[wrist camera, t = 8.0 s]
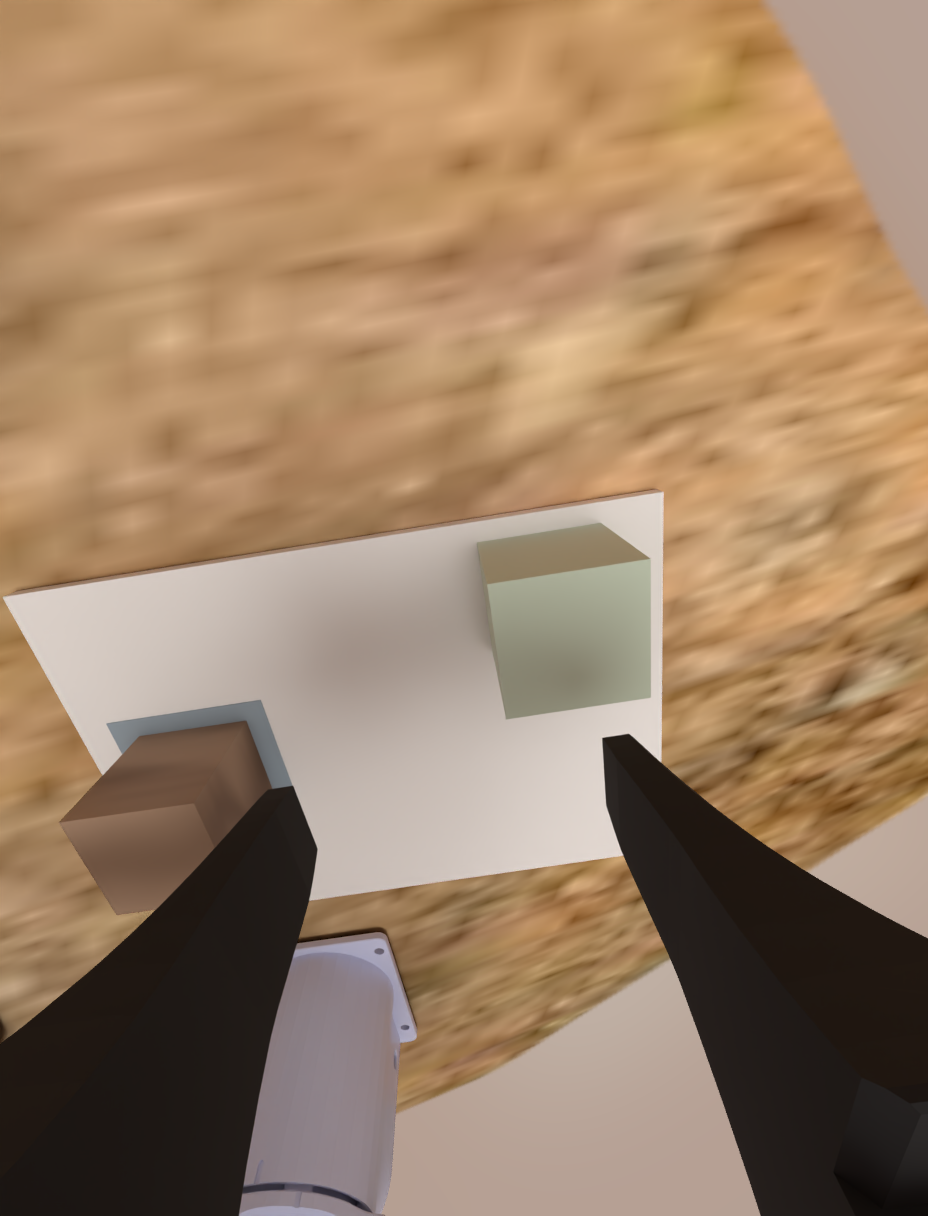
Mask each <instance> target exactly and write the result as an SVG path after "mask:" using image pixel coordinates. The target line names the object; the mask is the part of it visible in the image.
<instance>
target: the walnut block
mask: <svg viewBox="0 0 928 1216" xmlns="http://www.w3.org/2000/svg"><path fill="white" fill-rule="evenodd" d="M268 789H272V786H271V784H270V781H269V778H268V776H267V773H266V771H265V768H264V765H263V763H262V760H261V757H260V755H259V752H258V750H257V747H256V744H255V742H254V739H253V737H252V734H251V731H250V729H249V726H248V724H247V721H240V722H233V723H226V724H219V725H212V726H205V727H199V728H192V729H185V730H178V731H171V732H164V733H158V734H151V735H144V736H139V737H138V738H137V739H136V740H135V741H134V742H133V743H132V745H131V746H130V747H129V748H128V749H127V750H126V751H125V752H124V753H123V754H122V755H121V756H120V757H119V758H118V760H117V761H116V762H115V763H114V764H113V765H112V766H111V767H110V768H109V769H108V770H107V771H106V772H105V774H104V775H103V776H102V777H101V778H100V779H99V780H98V781H97V782H96V783H95V784H94V785H93V786H92V788H91V789H90V790H89V791H88V792H87V793H86V794H85V795H84V796H83V797H82V798H81V799H80V800H79V802H78V803H77V804H76V805H75V806H74V807H73V808H72V809H71V810H70V811H69V812H68V813H67V814H66V815H65V817H64V818H63V819H62V820H61V821H60V822H59V824H60V825H61V827H62V829H63V830H64V832H65V833H66V835H67V837H68V838H69V840H70V841H71V843H72V844H73V846H74V848H75V849H76V851H77V852H78V854H79V856H80V857H81V859H82V860H83V862H84V864H85V865H86V867H87V868H88V870H89V872H90V873H91V875H92V876H93V878H94V880H95V881H96V883H97V884H98V886H99V888H100V889H101V891H102V892H103V894H104V896H105V897H106V899H107V900H108V902H109V904H110V905H111V907H112V908H113V910H114V912H115V913H116V915H121V914H128V913H135V912H142V911H149V910H156V909H157V908H158V907H159V906H160V905H161V904H162V903H163V902H164V901H165V900H166V899H167V898H168V897H169V896H170V895H171V894H172V893H173V892H174V891H175V890H176V889H177V888H178V887H179V886H180V884H181V883H182V882H183V881H184V880H185V879H186V878H187V877H188V876H189V875H190V874H191V873H192V872H193V871H194V870H195V869H196V868H197V867H198V866H199V865H200V864H201V862H202V861H203V860H204V859H205V858H206V857H207V856H208V855H209V854H210V853H211V851H212V850H213V849H214V848H215V847H216V846H217V845H218V844H219V843H220V842H221V840H222V839H223V838H224V837H225V836H226V835H227V834H228V833H229V832H230V830H231V829H232V828H233V827H234V826H235V825H236V824H237V823H238V821H239V820H240V819H241V818H242V817H243V816H244V815H245V814H246V812H247V811H248V810H249V809H250V808H251V807H252V806H253V805H254V804H255V802H256V801H257V800H258V799H259V798H260V797H261V796H262V795H263V794H264V793H265V792H266V791H267V790H268Z"/></svg>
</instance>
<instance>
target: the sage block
mask: <svg viewBox="0 0 928 1216" xmlns="http://www.w3.org/2000/svg"><path fill="white" fill-rule="evenodd" d="M477 548H478V555H479V562H480V569H481V576H482V583H483V590H484V596H485V603H486V610H487V617H488V624H489V631H490V638H491V645H492V652H493V657H494V662H495V666H496V671H497V676H498V681H499V686H500V691H501V696H502V701H503V706H504V711H505V716H506V720H507V719H513V718H520V717H527V716H533V715H540V714H546V713H553V712H560V711H566V710H573V709H580V708H586V707H593V706H600V705H606V704H613V703H620V702H626V701H633V700H640V699H646V698H651V559H650V558H649V557H648V556H646V555H645V554H643V553H642V552H641V551H639V550H638V549H636V548H635V547H634V546H632V545H631V544H630V543H628V542H627V541H625V540H624V539H623V538H621V537H620V536H618V535H617V534H616V533H614V532H613V531H611V530H610V529H609V528H607V527H606V526H605V525H603V524H602V523H596V524H590V525H584V526H577V527H571V528H565V529H558V530H552V531H546V532H540V533H533V534H527V535H521V536H514V537H508V538H502V539H495V540H489V541H483V542H477Z"/></svg>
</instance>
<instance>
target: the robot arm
mask: <svg viewBox="0 0 928 1216" xmlns="http://www.w3.org/2000/svg"><path fill="white" fill-rule="evenodd" d="M602 746H603V762H604V779H605V796H606V807H607V810H608V813H609V816H610V819H611V822H612V825H613V828H614V831H615V834H616V837H617V840H618V843H619V846H620V849H621V851H622V853H623V856H624V858H625V860H626V862H627V865H628V867H629V869H630V871H631V873H632V876H633V878H634V880H635V882H636V884H637V887H638V889H639V891H640V893H641V895H642V898H643V900H644V902H645V904H646V906H647V908H648V911H649V913H650V915H651V917H652V919H653V922H654V924H655V926H656V928H657V930H658V932H659V935H660V937H661V939H662V941H663V943H664V945H665V948H666V950H667V952H668V954H669V957H670V959H671V961H672V964H673V966H674V969H675V971H676V973H677V976H678V978H679V981H680V983H681V986H682V989H683V992H684V994H685V997H686V1000H687V1003H688V1006H689V1008H690V1011H691V1014H692V1016H693V1019H694V1022H695V1025H696V1027H697V1030H698V1033H699V1036H700V1039H701V1041H702V1044H703V1047H704V1050H705V1053H706V1056H707V1059H708V1061H709V1064H710V1067H711V1070H712V1073H713V1076H714V1078H715V1081H716V1084H717V1087H718V1090H719V1093H720V1095H721V1098H722V1101H723V1104H724V1107H725V1110H726V1113H727V1116H728V1119H729V1122H730V1125H731V1128H732V1131H733V1134H734V1136H735V1140H736V1143H737V1145H738V1148H739V1151H740V1154H741V1157H742V1160H743V1163H744V1166H745V1169H746V1172H747V1175H748V1178H749V1181H750V1184H751V1187H752V1190H753V1193H754V1196H755V1199H756V1202H757V1205H758V1209H759V1211H760V1215H761V1216H928V938H926V937H924V936H922V935H920V934H918V933H916V932H914V931H912V930H910V929H908V928H906V927H904V926H902V925H900V924H898V923H896V922H894V921H893V920H891V919H889V918H887V917H885V916H883V915H881V914H879V913H878V912H876V911H874V910H872V909H870V908H868V907H867V906H865V905H863V904H861V903H860V902H858V901H856V900H854V899H853V898H851V897H849V896H847V895H846V894H844V893H842V892H840V891H839V890H837V889H835V888H833V887H831V886H830V885H828V884H826V883H824V882H823V881H821V880H819V879H818V878H816V877H814V876H813V875H811V874H809V873H808V872H806V871H805V870H803V869H801V868H800V867H798V866H797V865H795V864H793V863H792V862H790V861H789V860H787V859H786V858H784V857H783V856H781V855H780V854H778V853H777V852H775V851H774V850H772V849H771V848H769V847H768V846H766V845H765V844H763V843H762V842H760V841H759V840H758V839H756V838H755V837H753V836H752V835H751V834H749V833H748V832H746V831H745V830H744V829H742V828H741V827H740V826H738V825H737V824H736V823H734V822H733V821H732V820H730V819H729V818H728V817H726V816H725V815H724V814H722V813H721V812H720V811H718V810H717V809H716V808H715V807H713V806H712V805H711V804H709V803H708V802H707V801H706V800H705V799H703V798H702V797H701V796H700V795H698V794H697V793H696V792H695V791H694V790H692V789H691V788H690V787H689V786H688V785H686V784H685V783H684V782H683V781H682V780H680V779H679V778H678V777H677V776H676V775H675V774H673V773H672V772H671V771H670V770H669V769H668V768H667V767H666V766H664V765H663V764H662V763H661V762H660V761H659V760H658V759H657V758H656V757H654V756H653V755H652V754H651V753H650V752H649V751H648V750H647V749H646V748H645V747H644V746H642V745H641V744H640V743H639V742H638V741H637V740H636V739H635V738H634V737H633V736H631V735H630V734H623V735H617V736H610V737H604V738H602ZM317 851H318V848H317V846H316V843H315V841H314V838H313V835H312V833H311V830H310V828H309V825H308V822H307V820H306V817H305V815H304V812H303V810H302V807H301V804H300V802H299V799H298V797H297V794H296V791H295V789H294V786H287V787H281V788H274V789H268V790H267V791H266V792H265V793H264V794H263V795H262V796H261V797H260V798H259V799H258V800H257V801H256V802H255V804H254V805H253V806H252V807H251V808H250V809H249V810H248V811H247V812H246V814H245V815H244V816H243V817H242V818H241V819H240V820H239V821H238V823H237V824H236V825H235V826H234V827H233V828H232V829H231V830H230V832H229V833H228V834H227V835H226V836H225V837H224V838H223V839H222V840H221V842H220V843H219V844H218V845H217V846H216V847H215V848H214V849H213V850H212V851H211V853H210V854H209V855H208V856H207V857H206V858H205V859H204V860H203V861H202V862H201V864H200V865H199V866H198V867H197V868H196V869H195V870H194V871H193V872H192V873H191V874H190V875H189V876H188V877H187V878H186V879H185V880H184V881H183V882H182V883H181V884H180V886H179V887H178V888H177V889H176V890H175V891H174V892H173V893H172V894H171V895H170V896H169V897H168V898H167V899H166V900H165V901H164V902H163V903H162V904H161V905H160V906H159V907H158V908H157V909H156V910H155V911H154V912H153V913H152V914H151V915H150V916H149V917H148V918H147V919H146V920H145V921H144V922H143V923H142V924H141V925H140V926H139V927H138V928H137V929H136V930H135V931H134V932H133V933H131V934H130V935H129V936H128V937H127V938H126V939H125V940H124V941H123V942H122V943H121V944H120V945H118V946H117V947H116V948H115V949H114V950H113V951H112V952H111V953H110V954H109V955H107V956H106V957H105V958H104V959H103V960H102V961H101V962H100V963H99V964H97V965H96V966H95V967H94V968H93V969H92V970H91V971H89V972H88V973H87V974H86V975H85V976H84V977H82V978H81V979H80V980H79V981H78V982H76V983H75V984H74V985H73V986H71V987H70V988H69V989H68V990H67V991H65V992H64V993H63V994H62V995H61V996H59V997H58V998H57V999H56V1000H55V1001H53V1002H52V1003H51V1004H50V1005H49V1006H47V1007H46V1008H45V1009H44V1010H43V1011H41V1012H40V1013H39V1014H38V1015H37V1016H35V1017H34V1018H33V1019H32V1020H30V1021H29V1022H28V1023H27V1024H25V1025H24V1026H23V1027H22V1028H20V1029H19V1030H18V1031H17V1032H15V1033H14V1034H13V1035H11V1036H10V1037H9V1038H7V1039H6V1040H5V1041H4V1042H2V1043H1V1044H0V1216H385V1215H383V1214H381V1213H382V1210H383V1207H384V1205H385V1201H386V1198H387V1195H388V1191H389V1186H390V1180H391V1172H392V1159H393V1145H394V1131H395V1130H394V1129H395V1116H396V1101H397V1086H398V1072H399V1057H400V1043H403V1042H410V1041H413V1040H415V1039H416V1037H417V1028H416V1024H415V1021H414V1018H413V1015H412V1012H411V1009H410V1006H409V1003H408V1000H407V997H406V994H405V991H404V987H403V984H402V981H401V978H400V975H399V972H398V969H397V966H396V963H395V960H394V957H393V953H392V950H391V947H390V944H389V941H388V938H387V936H386V935H385V934H384V933H381V932H374V933H367V934H360V935H353V936H346V937H339V938H332V939H325V940H318V941H311V942H304V943H297V941H298V938H299V935H300V931H301V927H302V924H303V920H304V917H305V913H306V910H307V906H308V902H309V899H310V895H311V889H312V883H313V877H314V871H315V864H316V858H317Z"/></svg>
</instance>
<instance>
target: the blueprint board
mask: <svg viewBox="0 0 928 1216" xmlns="http://www.w3.org/2000/svg"><path fill="white" fill-rule="evenodd" d="M663 497H664V492H663V491H660V490H657V489H655V490H648V491H642V492H636V493H630V494H623V495H617V496H611V497H605V498H598V499H592V500H586V501H579V502H573V503H567V504H561V505H554V506H548V507H542V508H536V509H529V510H523V511H517V512H510V513H504V514H498V515H492V516H485V517H479V518H473V519H467V520H460V521H454V522H448V523H441V524H435V525H429V526H423V527H416V528H410V529H404V530H397V531H391V532H385V533H379V534H372V535H366V536H360V537H354V538H347V539H341V540H335V541H328V542H322V543H316V544H310V545H303V546H297V547H291V548H285V549H278V550H272V551H266V552H259V553H253V554H247V555H241V556H234V557H228V558H222V559H216V560H209V561H203V562H197V563H190V564H184V565H178V566H172V567H165V568H159V569H153V570H147V571H140V572H134V573H128V574H121V575H115V576H109V577H103V578H96V579H90V580H84V581H78V582H71V583H65V584H59V585H52V586H46V587H40V588H34V589H27V590H21V591H16V592H13V593H11V594H9V595H6V596H4V597H3V599H4V601H5V602H6V604H7V606H8V608H9V610H10V611H11V613H12V615H13V617H14V618H15V620H16V622H17V624H18V626H19V627H20V629H21V631H22V633H23V635H24V636H25V638H26V640H27V642H28V643H29V645H30V647H31V649H32V651H33V652H34V654H35V656H36V658H37V660H38V661H39V663H40V665H41V667H42V668H43V670H44V672H45V674H46V676H47V677H48V679H49V681H50V683H51V685H52V686H53V688H54V690H55V692H56V693H57V695H58V697H59V699H60V701H61V702H62V704H63V706H64V708H65V709H66V711H67V713H68V715H69V717H70V718H71V720H72V722H73V724H74V726H75V727H76V729H77V731H78V733H79V734H80V736H81V738H82V740H83V742H84V743H85V745H86V747H87V749H88V751H89V752H90V754H91V756H92V758H93V759H94V761H95V763H96V765H97V767H98V768H99V770H100V772H101V774H102V776H103V775H104V774H105V772H106V771H107V770H108V769H109V768H110V767H111V766H112V765H113V764H114V763H115V762H116V761H117V760H118V758H119V757H120V756H121V755H122V754H123V753H124V752H125V751H126V750H127V749H128V748H129V747H130V746H131V745H132V743H133V742H134V741H135V740H136V739H137V738H138V737H139V736H144V735H151V734H158V733H164V732H171V731H178V730H185V729H192V728H199V727H205V726H212V725H219V724H226V723H233V722H240V721H247V724H248V726H249V729H250V731H251V734H252V737H253V739H254V742H255V744H256V747H257V750H258V752H259V755H260V757H261V760H262V763H263V765H264V768H265V771H266V773H267V776H268V778H269V781H270V784H271V786H272V789H274V788H281V787H287V786H294V789H295V791H296V794H297V797H298V799H299V802H300V804H301V807H302V810H303V812H304V815H305V817H306V820H307V822H308V825H309V828H310V830H311V833H312V835H313V838H314V841H315V843H316V846H317V848H318V851H317V858H316V864H315V871H314V877H313V883H312V889H311V895H310V899H309V901H311V900H318V899H325V898H332V897H339V896H345V895H352V894H359V893H366V892H373V891H380V890H387V889H394V888H401V887H408V886H415V885H422V884H429V883H436V882H443V881H450V880H457V879H464V878H471V877H478V876H485V875H492V874H499V873H506V872H513V871H520V870H526V869H533V868H540V867H547V866H554V865H561V864H568V863H575V862H582V861H589V860H596V859H603V858H610V857H617V856H623V853H622V851H621V849H620V846H619V843H618V840H617V837H616V834H615V831H614V828H613V825H612V822H611V819H610V816H609V813H608V810H607V807H606V796H605V779H604V762H603V746H602V738H604V737H610V736H617V735H623V734H630V735H631V736H633V737H634V738H635V739H636V740H637V741H638V742H639V743H640V744H641V745H642V746H644V747H645V748H646V749H647V750H648V751H649V752H650V753H651V754H652V755H653V756H654V757H656V758H657V759H658V760H659V761H660V762H661V738H662V617H663ZM596 523H602V524H603V525H605V526H606V527H607V528H609V529H610V530H611V531H613V532H614V533H616V534H617V535H618V536H620V537H621V538H623V539H624V540H625V541H627V542H628V543H630V544H631V545H632V546H634V547H635V548H636V549H638V550H639V551H641V552H642V553H643V554H645V555H646V556H648V557H649V558H650V559H651V698H646V699H640V700H633V701H626V702H620V703H613V704H606V705H600V706H593V707H586V708H580V709H573V710H566V711H560V712H553V713H546V714H540V715H533V716H527V717H520V718H513V719H507V720H506V716H505V711H504V706H503V701H502V696H501V691H500V686H499V681H498V676H497V671H496V666H495V662H494V657H493V652H492V645H491V638H490V631H489V624H488V617H487V610H486V603H485V596H484V590H483V583H482V576H481V569H480V562H479V555H478V548H477V542H483V541H489V540H495V539H502V538H508V537H514V536H521V535H527V534H533V533H540V532H546V531H552V530H558V529H565V528H571V527H577V526H584V525H590V524H596Z"/></svg>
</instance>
